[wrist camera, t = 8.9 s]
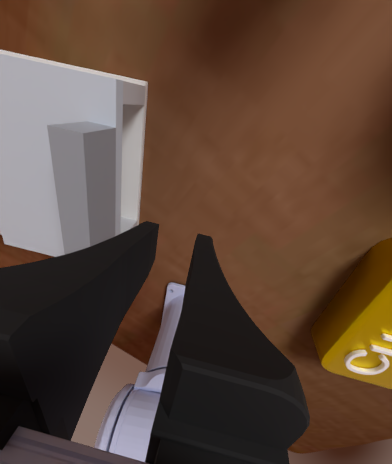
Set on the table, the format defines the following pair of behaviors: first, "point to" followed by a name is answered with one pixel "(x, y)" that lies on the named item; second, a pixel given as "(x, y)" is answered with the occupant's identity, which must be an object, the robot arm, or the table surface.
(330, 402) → the table surface
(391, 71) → the table surface
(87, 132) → the lid
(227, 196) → the table surface
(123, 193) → the housing
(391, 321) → the element tile
